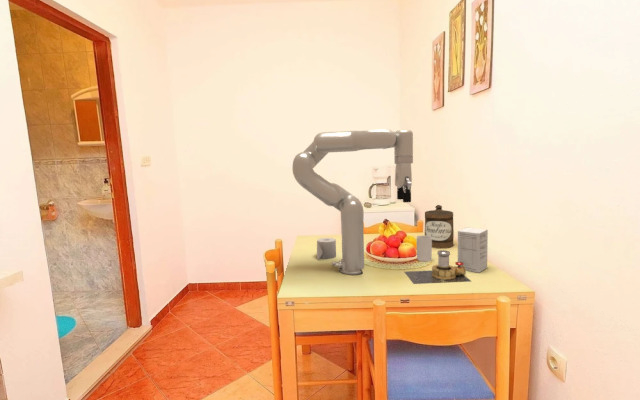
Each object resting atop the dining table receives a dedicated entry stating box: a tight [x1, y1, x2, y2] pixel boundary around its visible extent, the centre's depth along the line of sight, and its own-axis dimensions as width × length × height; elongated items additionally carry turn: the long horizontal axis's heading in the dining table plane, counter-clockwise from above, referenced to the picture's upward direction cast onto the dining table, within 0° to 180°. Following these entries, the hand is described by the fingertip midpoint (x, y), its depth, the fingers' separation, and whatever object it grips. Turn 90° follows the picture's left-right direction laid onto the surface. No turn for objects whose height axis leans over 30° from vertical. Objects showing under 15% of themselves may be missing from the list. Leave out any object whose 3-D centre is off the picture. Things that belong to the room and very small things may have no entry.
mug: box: [416, 235, 433, 262], centre depth 162 cm, size 10×7×12 cm, turn 161°
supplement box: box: [457, 227, 489, 274], centre depth 150 cm, size 10×9×17 cm
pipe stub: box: [437, 249, 451, 270], centre depth 138 cm, size 5×5×9 cm
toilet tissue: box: [316, 237, 337, 261], centre depth 174 cm, size 9×13×9 cm
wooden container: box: [424, 204, 455, 249], centre depth 189 cm, size 15×15×22 cm
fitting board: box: [404, 261, 472, 285], centre depth 138 cm, size 22×14×7 cm, turn 91°
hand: (403, 200), depth 149 cm, fingers open, 9 cm apart
